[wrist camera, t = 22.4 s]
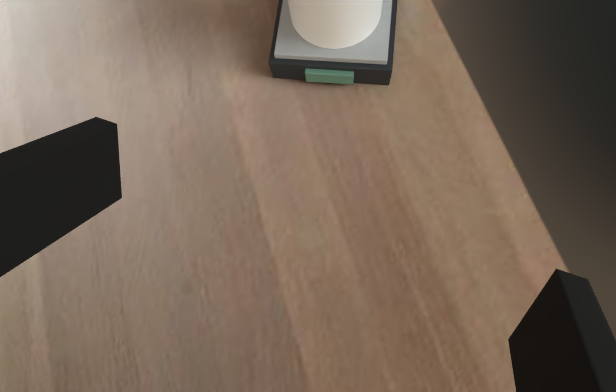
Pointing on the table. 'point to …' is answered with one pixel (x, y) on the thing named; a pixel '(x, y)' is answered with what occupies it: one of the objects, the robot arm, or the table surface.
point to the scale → (334, 53)
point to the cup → (335, 21)
